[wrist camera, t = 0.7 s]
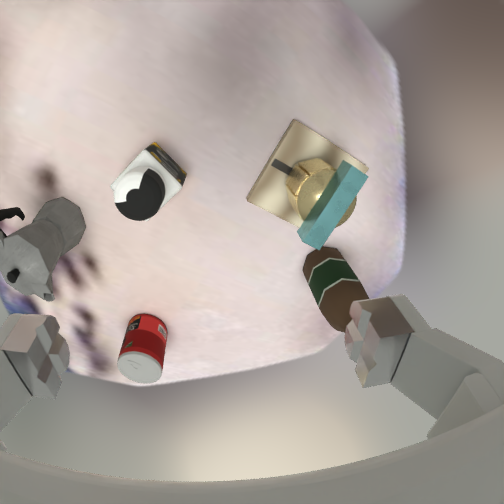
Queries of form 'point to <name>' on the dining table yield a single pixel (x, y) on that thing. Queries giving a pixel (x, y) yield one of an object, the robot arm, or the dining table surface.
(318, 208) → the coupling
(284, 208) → the square recessed plate
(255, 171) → the dining table surface
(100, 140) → the dining table surface
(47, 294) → the coffeepot
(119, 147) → the dining table surface
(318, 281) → the beer bottle
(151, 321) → the canned food
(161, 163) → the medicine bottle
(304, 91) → the dining table surface
